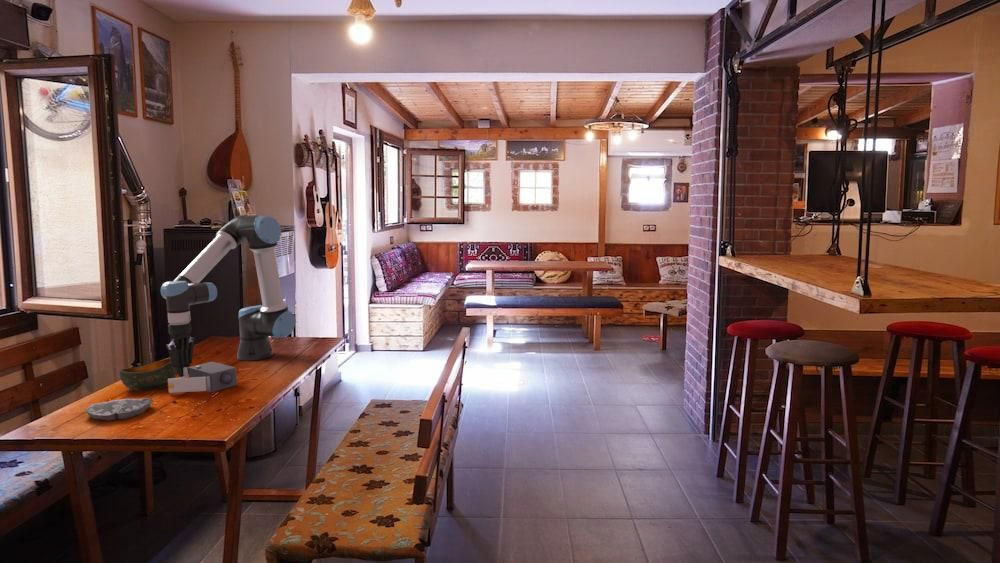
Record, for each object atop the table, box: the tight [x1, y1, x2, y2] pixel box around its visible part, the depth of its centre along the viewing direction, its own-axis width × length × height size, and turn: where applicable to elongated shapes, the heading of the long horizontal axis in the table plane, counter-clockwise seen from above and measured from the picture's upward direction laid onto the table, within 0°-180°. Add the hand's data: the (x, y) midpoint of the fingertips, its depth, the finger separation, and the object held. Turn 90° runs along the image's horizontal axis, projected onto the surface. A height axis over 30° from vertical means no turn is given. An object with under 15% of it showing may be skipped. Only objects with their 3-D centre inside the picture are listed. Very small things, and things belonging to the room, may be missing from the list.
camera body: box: [188, 361, 238, 393], centre depth 243 cm, size 10×18×8 cm, turn 56°
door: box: [167, 376, 211, 394], centre depth 233 cm, size 2×14×6 cm, turn 101°
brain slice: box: [84, 397, 154, 421], centre depth 212 cm, size 20×17×3 cm
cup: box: [119, 357, 178, 392], centre depth 241 cm, size 13×20×10 cm, turn 97°
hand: (184, 384), depth 237 cm, fingers closed
